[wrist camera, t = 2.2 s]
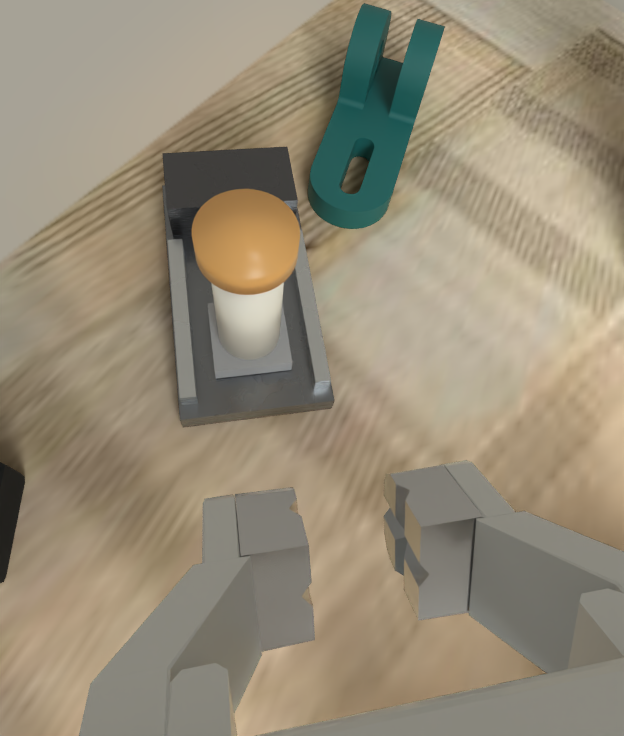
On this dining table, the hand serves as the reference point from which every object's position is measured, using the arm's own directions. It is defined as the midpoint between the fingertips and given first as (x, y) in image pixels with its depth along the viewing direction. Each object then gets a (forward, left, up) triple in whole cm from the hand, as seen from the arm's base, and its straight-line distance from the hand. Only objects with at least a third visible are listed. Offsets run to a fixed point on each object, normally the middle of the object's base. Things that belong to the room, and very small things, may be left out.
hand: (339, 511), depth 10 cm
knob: (0, -15, -24) cm, 28 cm away
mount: (0, -20, -25) cm, 32 cm away
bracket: (-12, -34, -26) cm, 44 cm away
